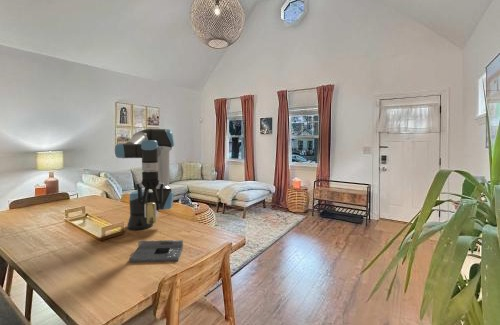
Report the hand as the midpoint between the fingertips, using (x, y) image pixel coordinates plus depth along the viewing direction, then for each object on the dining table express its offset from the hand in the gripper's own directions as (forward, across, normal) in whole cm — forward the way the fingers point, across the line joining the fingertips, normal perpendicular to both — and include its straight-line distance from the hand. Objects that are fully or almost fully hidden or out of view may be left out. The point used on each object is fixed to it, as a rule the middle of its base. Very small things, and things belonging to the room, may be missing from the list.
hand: (151, 216), depth 130 cm
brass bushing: (+3, 0, 0) cm, 3 cm away
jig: (+18, +5, -6) cm, 19 cm away
